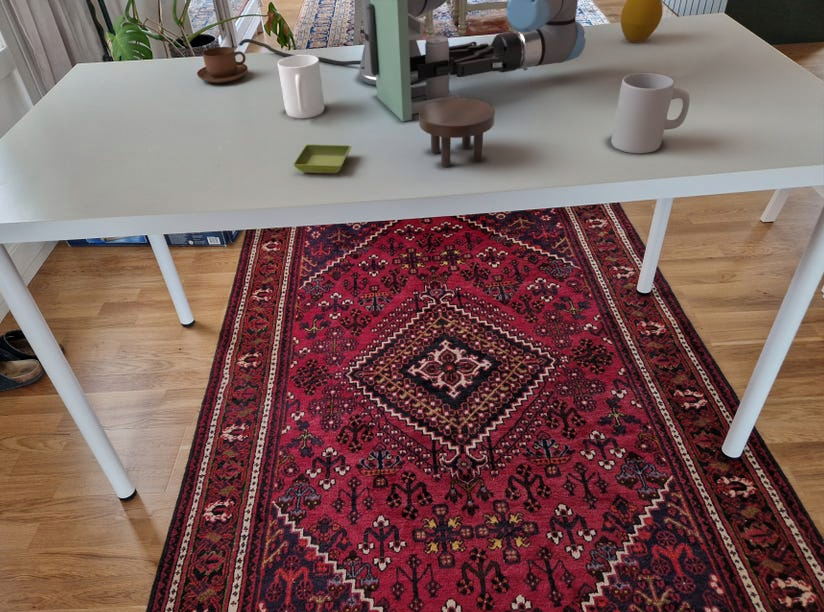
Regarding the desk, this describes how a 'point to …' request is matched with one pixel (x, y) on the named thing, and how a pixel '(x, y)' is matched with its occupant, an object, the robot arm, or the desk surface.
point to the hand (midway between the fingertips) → (413, 68)
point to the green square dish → (322, 158)
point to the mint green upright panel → (395, 56)
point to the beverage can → (436, 52)
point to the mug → (645, 112)
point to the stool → (456, 125)
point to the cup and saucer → (222, 65)
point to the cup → (301, 86)
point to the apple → (640, 18)
